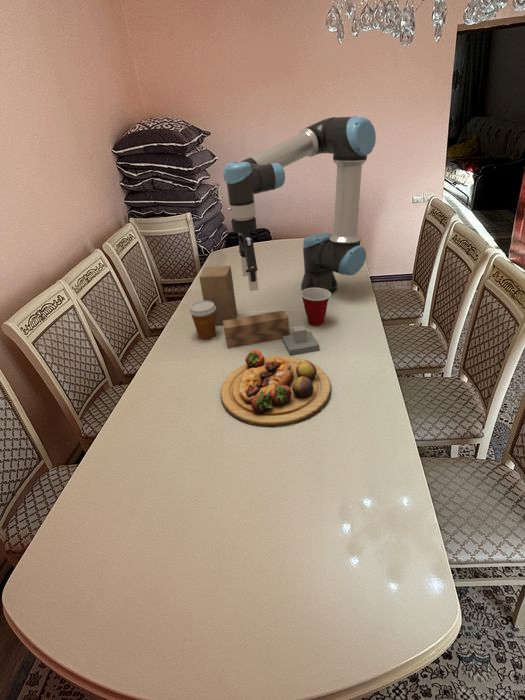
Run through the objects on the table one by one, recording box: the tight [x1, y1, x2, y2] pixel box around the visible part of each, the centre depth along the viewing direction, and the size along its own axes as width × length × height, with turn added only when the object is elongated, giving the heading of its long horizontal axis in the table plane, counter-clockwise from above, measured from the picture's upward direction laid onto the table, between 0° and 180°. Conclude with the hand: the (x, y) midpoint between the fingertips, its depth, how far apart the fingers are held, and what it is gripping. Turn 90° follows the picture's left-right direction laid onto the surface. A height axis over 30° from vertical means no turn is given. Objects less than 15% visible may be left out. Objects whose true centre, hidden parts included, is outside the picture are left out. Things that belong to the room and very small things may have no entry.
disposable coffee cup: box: [189, 300, 217, 340], centre depth 162 cm, size 10×10×12 cm
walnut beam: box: [222, 309, 291, 349], centre depth 157 cm, size 22×6×8 cm, turn 101°
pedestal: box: [282, 325, 320, 357], centre depth 150 cm, size 10×10×6 cm
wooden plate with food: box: [219, 349, 332, 428], centre depth 129 cm, size 32×32×8 cm
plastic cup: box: [300, 288, 332, 327], centre depth 162 cm, size 11×11×12 cm
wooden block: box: [198, 265, 238, 326], centre depth 170 cm, size 10×10×20 cm
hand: (250, 282), depth 148 cm, fingers open, 13 cm apart
